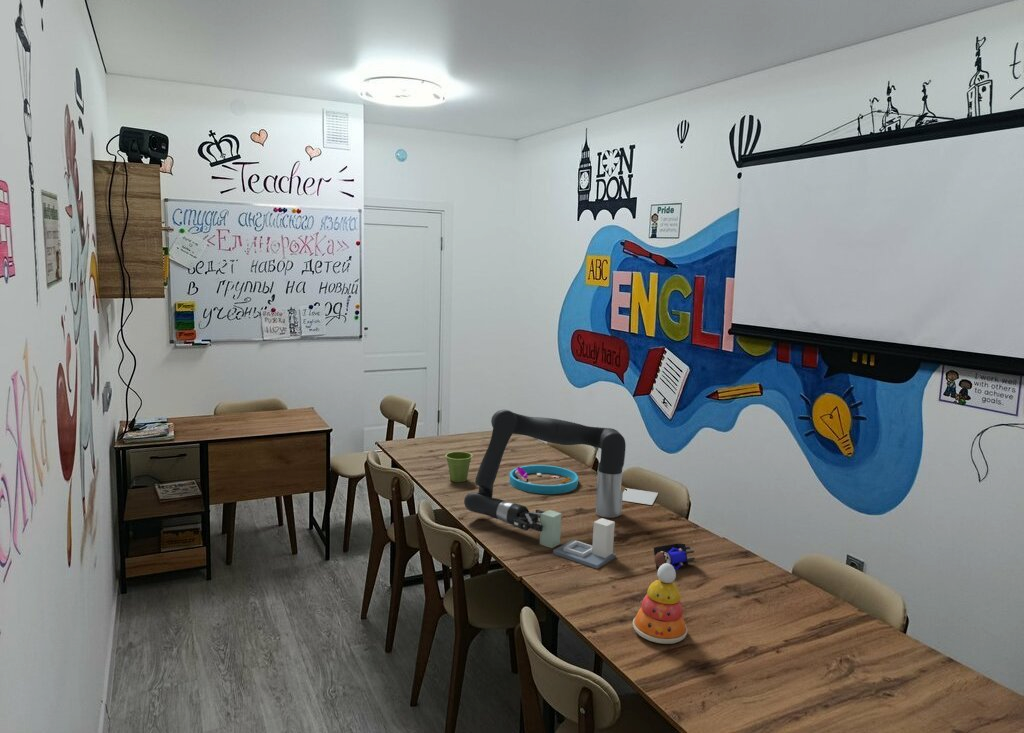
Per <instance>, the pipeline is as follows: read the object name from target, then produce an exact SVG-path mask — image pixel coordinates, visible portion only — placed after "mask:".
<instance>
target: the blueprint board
mask: <svg viewBox="0 0 1024 733" xmlns="http://www.w3.org/2000/svg"><path fill="white" fill-rule="evenodd" d="M552 554H553V555H556V556H558V557H561V558H564V559H567V560H569V561H570V560H571V561H573V562H576V563H579V564H581V565H584V566H588V567H590V568H593V569H596V570H598V569H599V568H601V567H602V566H604V565H606V564H607V563H609V562H611V561H612V560H614V559H616V558H617V554H616V553H614V552H613V554H611V555H610V556H608V557H606V558H603V557H600V556H597V555H594V554H592V545H591V544H588V543H586V542H585V543H584V542H582V541H579V540H574V539H572V540H570V541H568V542H566V543H564V544H563V545H560V546H559V547H557V548H555V549H553V550H552Z"/></svg>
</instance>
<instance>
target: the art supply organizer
mask: <svg viewBox="0 0 1024 733" xmlns="http://www.w3.org/2000/svg"><path fill="white" fill-rule="evenodd" d="M548 473H549V474H550V478H554V477H556V478H555V479H560V478H559V477H564V478H565V479H562V480H560V481H559V482H562V484H561V483H560V484H551V485H549V484H546V485H545V484H536V483H533V482H532V481H529V480H527V479H528V474H536V476H538V477H541V476H542V475H544V474H548ZM555 474H556V475H555ZM560 475H561V476H560ZM517 478H519V479H517ZM570 480H571V481H570ZM572 480H573V481H572ZM527 481H528V482H527ZM568 481H570V482H568ZM565 482H567V483H565ZM509 484H510V485H511V487H513V488H515V489H516V490H520V491H523V492H528V493H532V494H540V495H542V494H543V495H556V494H564V493H568V492H572V491H574V490H576V489H577V488H578V486H577V485H579V476H578V474H577V473H576V472H575V471H572V470H570V469H568V468H564V467H560V466H556V465H555V466H554V465H548V464H547V465H546V464H530V465H522V466H518V467H516V468H514V469H511V470H510V472H509ZM576 487H577V488H576Z"/></svg>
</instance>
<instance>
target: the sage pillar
mask: <svg viewBox="0 0 1024 733" xmlns="http://www.w3.org/2000/svg"><path fill="white" fill-rule="evenodd" d="M562 516H563V515H562V513H561V512H558V511H556V510H555V511H554V510H551V509H548V510H546V511H544V513H541V523H540V525H542V526H543V531H541V532H540V531H539V532H540V535H539V545H541V546H543V547H546V548H549V549H550V548H551V549H553V548H555V547H556V546H559V545H560V544H561V529H562Z"/></svg>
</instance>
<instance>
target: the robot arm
mask: <svg viewBox="0 0 1024 733" xmlns="http://www.w3.org/2000/svg"><path fill="white" fill-rule="evenodd" d="M490 422H491V426H492V433H491V437H490V441H489V444H488V447H487V449H486V452H485V453H484V455H483V458H482V459H481V462H480V465H479V468H478V471H477V473H476V477H475V480H474V483H475V484H476V485H477V486H478V492H475V491H474V492H468V493H467V495H465V496H464V500H463V504H464V506H465V509H466V510H468V511H469V512H472V513H476V514H481V515H485V516H488V517H491V518H492V519H496V520H499V521H501V522H503V523H506V524H509V525H512V526H513V527H514V528H517V529H520V530H523V531H525V532H526V531H528V530H531V531H532V530H533V531H537V532H541V531H543V526H542V525H541V513H544V512H545V511H544V510H540V509H535V512H534V511H530V510H529V509H528V507H527V506H525V505H522V504H519V503H515V502H513V501H509V500H508V501H507V500H503V499H500V498H495V497H493V494H494V484H495V480H496V479H497V475H498V471H499V469H500V465H501V463H502V460H503V456H504V453H505V450H506V448H507V446H508V444H509V441H510V440H511V437H512V435H521V436H526V437H530V438H533V439H536V440H539V441H543V442H546V443H551V444H554V445H555V444H556V445H562V446H575V445H577V446H578V445H586V446H590V447H595V448H597V449H600V450H601V451H600V460H599V462H598V465H597V481H596V482H597V483H596V498H595V500H596V501H595V514H596V515H597V516H599V517H601V518H605V519H609V518H610V519H611V518H617V517H619V516H622V512H623V511H622V510H623V501H622V499H623V492H624V490H622V479H623V478H622V477H623V468H624V465H625V457H626V448H627V447H626V445H627V444H626V439H625V437H624V436H623V434H621V432H619V430H617V429H614V428H611V427H610V428H609V427H598V426H597V427H596V426H588V425H585V424H580V423H577V422H573V421H568V420H563V419H558V418H550V417H539V416H534V417H533V416H529V415H523V414H519V413H516V412H513V411H511V410H508V409H500V410H497V411H496V412H495V413H494V414H493V415H492V417H491V420H490Z"/></svg>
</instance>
